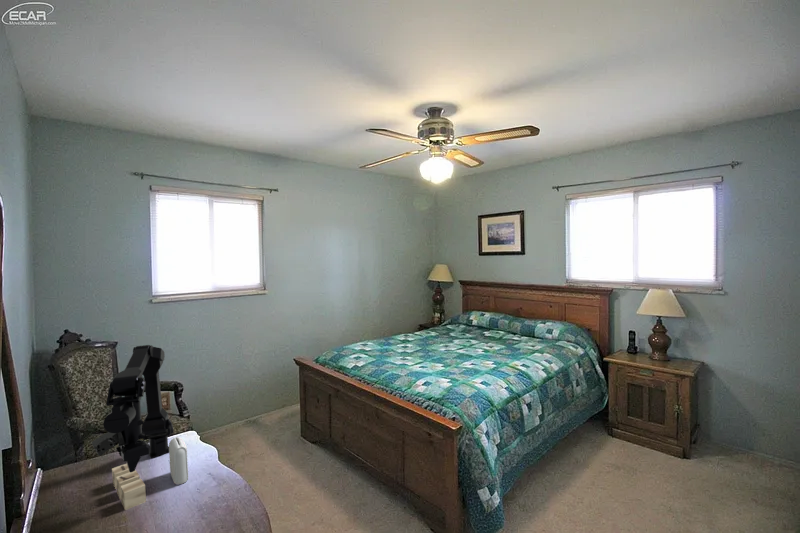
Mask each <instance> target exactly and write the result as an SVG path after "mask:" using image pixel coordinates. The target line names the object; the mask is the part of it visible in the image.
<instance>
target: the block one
mask: <svg viewBox="0 0 800 533" xmlns="http://www.w3.org/2000/svg"><path fill="white" fill-rule="evenodd" d="M129 472H130V471H129V469H128V466H127V463H124V464H121V465H118V466H115V467H113V468H111V475H112V476H111V477H112V479H111V480H112V485H113V484H114V485H113V487H115V488H114V489H117V484H116V477H118V476H121V475H123V474H126V473H129Z"/></svg>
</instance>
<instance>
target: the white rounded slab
mask: <svg viewBox="0 0 800 533" xmlns="http://www.w3.org/2000/svg"><path fill="white" fill-rule="evenodd" d="M168 446H169V452H168V455H169V457H168V459H169V471H170V476H171V480H172V482H173V483H174V484H175V485H183V484H185V483H186V482H187V481H189V467H188V466H189V464H188V463H189V462H188V447H187V445H186V443H185V440H184V439H183V438H182V437H180V436H176V437H173V438H171V440H170V441H169V442H168Z"/></svg>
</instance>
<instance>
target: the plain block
mask: <svg viewBox="0 0 800 533" xmlns="http://www.w3.org/2000/svg"><path fill="white" fill-rule="evenodd" d="M146 492H147V491H146V484H145V482H144V480H143V479H142V478H140V479H139V480H136V481H134V482H131V483H128V484H126V485H123V486H121V500H120V501H121V505H122V507H123V510H124V511H127V510H129V509H132V508H134V507H137V506H140V505H141V504H144V503H146V502H147V495H146Z"/></svg>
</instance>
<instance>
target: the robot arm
mask: <svg viewBox="0 0 800 533" xmlns="http://www.w3.org/2000/svg"><path fill="white" fill-rule="evenodd" d="M164 361H165V351H164V349H162V348H161V347H156V346H154V345H151V344H144V345H136V346H134V347H133V349H132V354H131V357H130V359H128V362H127V365H126V366H125V369H123V370H121V371H120V372H117V373H116V375H115V376H114V377H113V378H112V381H110V383H109V387H108V392H107V398H106V404H105V406H106V407H108V406H112V408H111V412H110V413H108V414H107V416H106V417H105V418H104V421H103V427H104V429H105V431H107V432H106V433H104V434H102V435H101V436H99V437H97V438H95V439H93V441H92V442H91V445H92V447H93V449H94V450H95V452H96V454H97V455H98V456H103V455H104V454H106V453H107V452H108V451H110V450H111V449H113V448H114V447H115V449H116V451H117V452H118V454H119V456H120V457H121V459H122V460H123V462H126V463H125V464H127V466H128V469H129V471H130V472H133V471H135V470H137V469H136V468H137V466H138V464H139V461H140V459H141V458H142V457H144V456H146V455H148V457H149V458H150V459H152V458H156V457H159V456H162V455H165V454H169V441H168V440H169V438H168V437H171V435H173V434H174V431H175V430H174V424H173V422H172V421H171V419H170V418H169V412H168V411H166V410H165V409H164V408H163V405H162V404H163V403H162V392H161V383H160V381H161V380H160V369H161V367H162V366H163V364H164ZM144 394H145V395H144ZM144 396H145V400H146V401H145V403H146V411H147V412H146V413H147V414H146V415H145V417H144V419H142V410H141V400H142V397H144ZM142 439H143V440H142ZM146 440H148V442H147V441H146ZM117 445H118V446H117ZM116 446H117V447H116Z"/></svg>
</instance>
